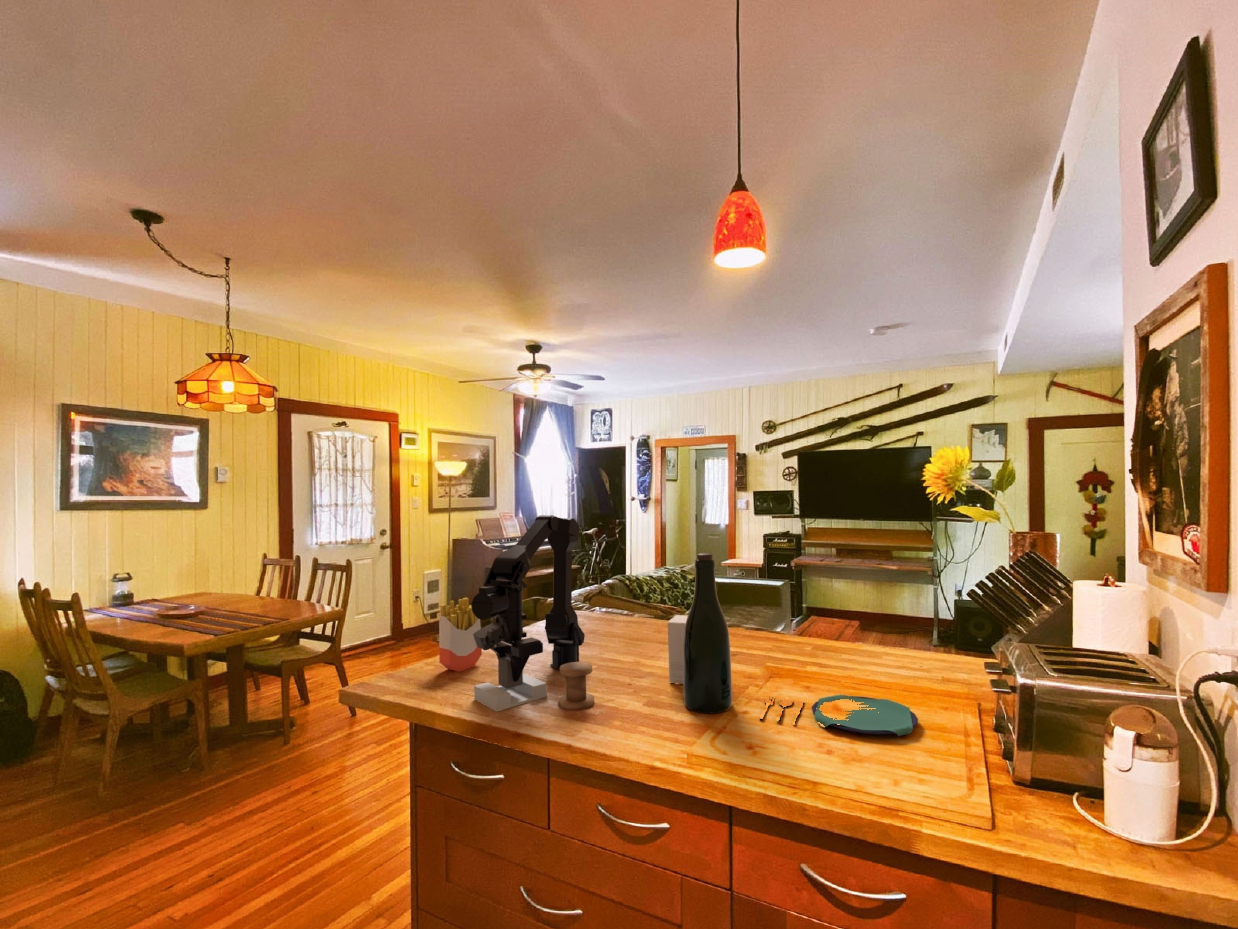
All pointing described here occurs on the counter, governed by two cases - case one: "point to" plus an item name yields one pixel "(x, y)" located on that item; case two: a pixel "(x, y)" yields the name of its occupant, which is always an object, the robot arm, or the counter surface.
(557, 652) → the robot arm
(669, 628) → the supplement box
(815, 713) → the teal oval plate
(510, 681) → the block
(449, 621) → the french fries container
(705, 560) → the wine bottle
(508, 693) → the notched board
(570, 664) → the bobbin
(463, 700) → the counter surface
